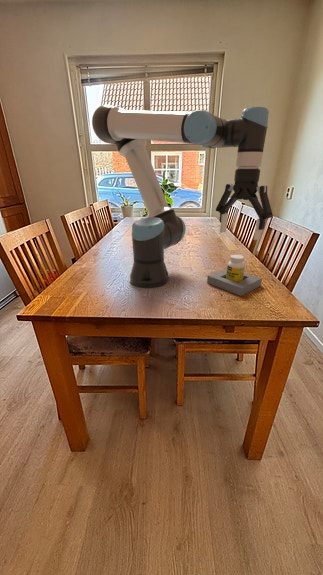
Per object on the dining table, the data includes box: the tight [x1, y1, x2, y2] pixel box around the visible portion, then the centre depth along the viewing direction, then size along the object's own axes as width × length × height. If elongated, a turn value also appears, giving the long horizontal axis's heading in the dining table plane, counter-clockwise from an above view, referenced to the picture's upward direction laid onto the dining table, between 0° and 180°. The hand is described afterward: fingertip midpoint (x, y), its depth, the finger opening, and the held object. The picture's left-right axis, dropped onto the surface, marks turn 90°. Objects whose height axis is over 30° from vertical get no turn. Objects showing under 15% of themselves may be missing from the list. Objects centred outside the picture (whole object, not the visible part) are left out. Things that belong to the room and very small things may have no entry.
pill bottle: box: [226, 254, 246, 283], centre depth 92 cm, size 6×6×11 cm
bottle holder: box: [206, 267, 263, 297], centre depth 94 cm, size 13×15×3 cm
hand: (238, 235), depth 87 cm, fingers open, 13 cm apart
